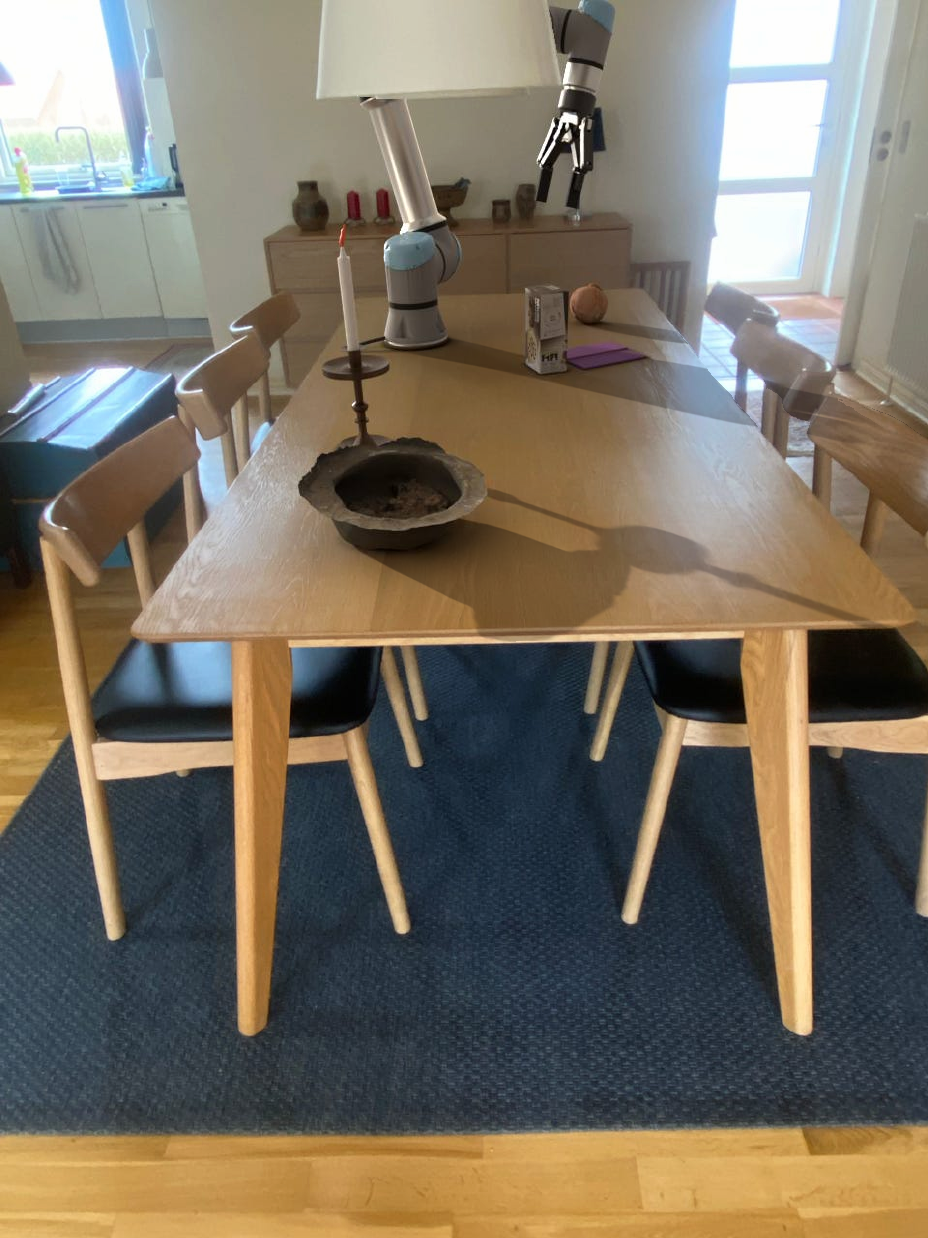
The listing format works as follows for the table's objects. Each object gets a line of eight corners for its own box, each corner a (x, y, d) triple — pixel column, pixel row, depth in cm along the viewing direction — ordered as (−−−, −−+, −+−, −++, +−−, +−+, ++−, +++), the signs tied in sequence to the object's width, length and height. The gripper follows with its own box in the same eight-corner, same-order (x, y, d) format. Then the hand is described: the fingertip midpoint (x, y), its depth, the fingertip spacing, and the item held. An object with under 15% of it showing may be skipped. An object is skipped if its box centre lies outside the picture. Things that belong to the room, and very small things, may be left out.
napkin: (584, 369, 174) (584, 366, 173) (550, 354, 184) (550, 351, 184) (646, 357, 179) (647, 354, 179) (610, 343, 190) (610, 340, 189)
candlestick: (391, 434, 146) (371, 216, 127) (401, 456, 137) (380, 226, 118) (330, 441, 144) (300, 222, 125) (336, 464, 135) (304, 231, 116)
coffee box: (568, 371, 173) (570, 290, 164) (539, 375, 172) (540, 293, 163) (551, 360, 181) (553, 282, 172) (524, 363, 179) (524, 285, 170)
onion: (591, 330, 212) (601, 290, 210) (609, 327, 204) (619, 286, 202) (559, 320, 209) (569, 279, 207) (576, 317, 200) (586, 274, 198)
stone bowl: (330, 488, 126) (326, 430, 121) (491, 500, 125) (495, 442, 120) (284, 565, 105) (278, 499, 100) (477, 581, 104) (481, 514, 99)
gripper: (627, 95, 162) (599, 213, 171) (564, 96, 181) (542, 202, 191) (596, 85, 159) (569, 206, 168) (535, 88, 178) (514, 196, 187)
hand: (554, 204), depth 179 cm, fingers open, 13 cm apart
